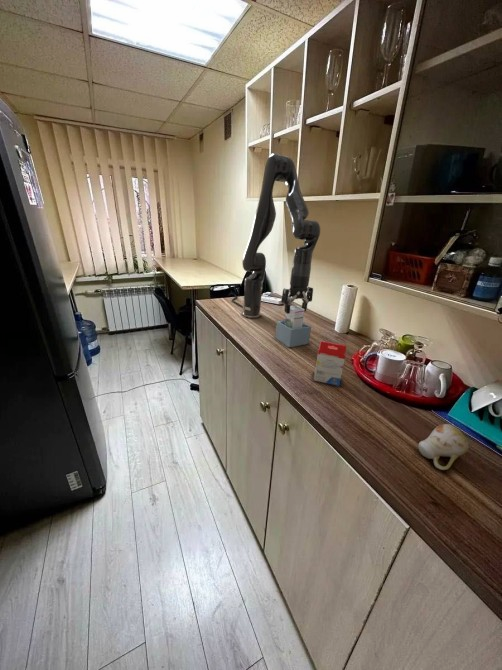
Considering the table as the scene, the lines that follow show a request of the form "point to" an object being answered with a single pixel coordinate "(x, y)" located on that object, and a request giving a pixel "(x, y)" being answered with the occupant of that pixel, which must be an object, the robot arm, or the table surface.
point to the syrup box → (295, 317)
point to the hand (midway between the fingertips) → (295, 312)
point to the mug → (444, 445)
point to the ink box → (330, 363)
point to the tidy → (292, 334)
